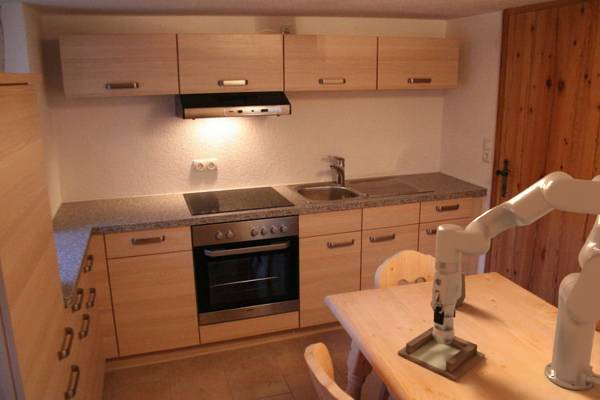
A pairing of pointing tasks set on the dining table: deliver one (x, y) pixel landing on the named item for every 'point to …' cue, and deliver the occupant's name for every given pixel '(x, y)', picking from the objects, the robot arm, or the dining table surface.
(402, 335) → the dining table surface
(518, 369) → the dining table surface
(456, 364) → the tray
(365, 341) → the dining table surface
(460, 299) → the squeeze bottle
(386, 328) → the dining table surface
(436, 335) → the plastic bottle
